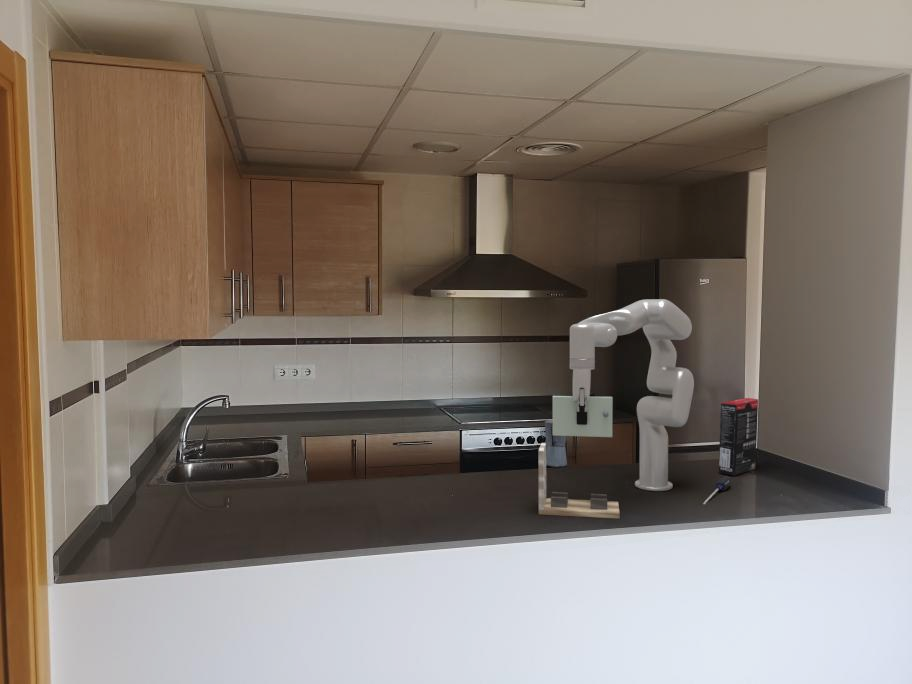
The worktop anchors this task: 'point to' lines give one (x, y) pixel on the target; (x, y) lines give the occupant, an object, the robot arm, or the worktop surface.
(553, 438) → the moka pot
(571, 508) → the hinge base
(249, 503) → the worktop surface
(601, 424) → the door
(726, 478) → the screwdriver
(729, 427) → the graphics card box
